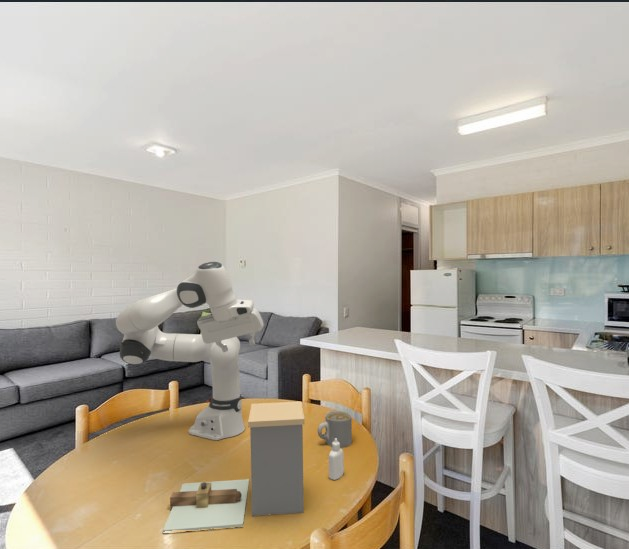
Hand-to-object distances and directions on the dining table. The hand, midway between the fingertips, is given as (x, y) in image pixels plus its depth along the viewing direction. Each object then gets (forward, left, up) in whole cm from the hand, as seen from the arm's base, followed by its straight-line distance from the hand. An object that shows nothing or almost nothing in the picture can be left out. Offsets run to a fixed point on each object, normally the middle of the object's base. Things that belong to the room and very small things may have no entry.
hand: (239, 347), depth 122 cm
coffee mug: (+27, +25, -41) cm, 55 cm away
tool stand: (+18, -13, -40) cm, 46 cm away
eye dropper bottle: (+32, +3, -41) cm, 52 cm away
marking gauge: (-2, -20, -39) cm, 44 cm away
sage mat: (0, -20, -40) cm, 45 cm away
